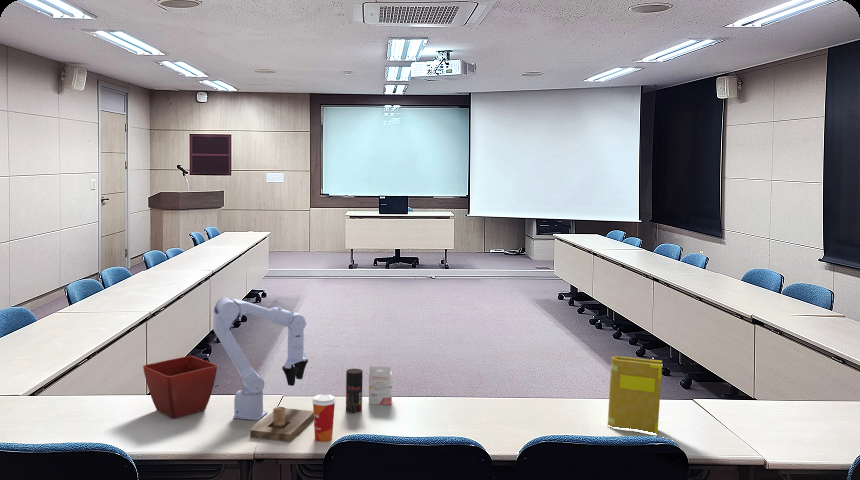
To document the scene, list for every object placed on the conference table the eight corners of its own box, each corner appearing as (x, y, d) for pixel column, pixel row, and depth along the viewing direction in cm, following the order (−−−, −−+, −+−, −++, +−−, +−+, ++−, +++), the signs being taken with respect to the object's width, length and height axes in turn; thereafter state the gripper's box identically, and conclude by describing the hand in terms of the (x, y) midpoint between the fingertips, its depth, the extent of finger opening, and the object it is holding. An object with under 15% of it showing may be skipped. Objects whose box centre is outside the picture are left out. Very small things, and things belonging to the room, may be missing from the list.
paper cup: (312, 434, 225) (313, 393, 224) (335, 434, 226) (336, 393, 225) (310, 443, 218) (311, 401, 216) (334, 443, 218) (335, 401, 217)
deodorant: (359, 414, 245) (359, 374, 243) (343, 412, 246) (344, 372, 245) (363, 408, 251) (364, 369, 249) (348, 407, 252) (349, 368, 250)
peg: (270, 433, 225) (271, 410, 224) (276, 428, 229) (276, 406, 228) (282, 434, 224) (282, 411, 223) (287, 430, 228) (287, 407, 227)
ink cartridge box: (391, 400, 260) (392, 363, 259) (390, 405, 255) (391, 367, 254) (369, 399, 261) (370, 362, 259) (368, 404, 256) (368, 366, 254)
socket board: (250, 437, 221) (250, 430, 221) (278, 414, 243) (278, 407, 242) (290, 441, 218) (290, 434, 218) (314, 418, 240) (314, 411, 240)
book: (657, 429, 238) (662, 360, 236) (657, 436, 232) (662, 365, 229) (608, 422, 244) (612, 355, 241) (606, 429, 237) (610, 359, 235)
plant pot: (142, 410, 243) (141, 364, 241) (191, 397, 257) (191, 354, 255) (168, 424, 230) (168, 376, 228) (218, 410, 244) (218, 365, 243)
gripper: (298, 351, 237) (297, 389, 239) (313, 341, 252) (312, 377, 253) (279, 350, 239) (279, 387, 240) (295, 340, 253) (295, 375, 254)
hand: (295, 382), depth 247 cm, fingers open, 7 cm apart
